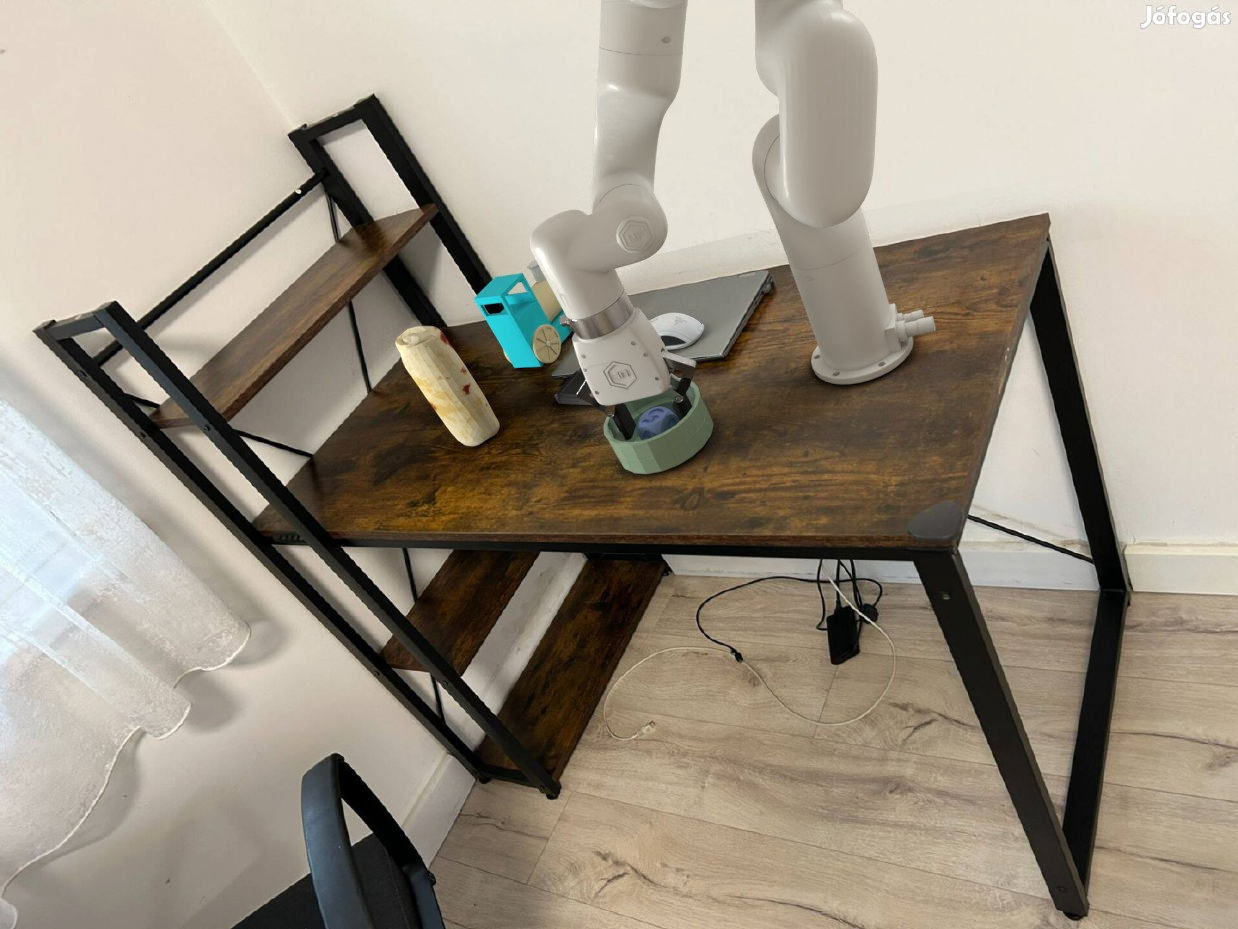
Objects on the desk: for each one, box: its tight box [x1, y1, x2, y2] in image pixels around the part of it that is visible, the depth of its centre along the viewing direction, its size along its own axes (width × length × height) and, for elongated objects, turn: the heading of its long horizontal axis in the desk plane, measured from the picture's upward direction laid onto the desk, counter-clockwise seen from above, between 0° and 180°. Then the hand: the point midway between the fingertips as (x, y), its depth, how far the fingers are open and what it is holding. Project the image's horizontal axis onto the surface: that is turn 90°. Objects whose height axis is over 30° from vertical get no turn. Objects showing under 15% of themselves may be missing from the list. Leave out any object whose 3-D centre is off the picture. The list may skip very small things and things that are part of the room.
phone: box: [554, 367, 591, 406], centre depth 131 cm, size 8×1×15 cm
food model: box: [395, 325, 500, 447], centre depth 132 cm, size 10×7×20 cm
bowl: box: [603, 377, 714, 475], centre depth 112 cm, size 13×13×6 cm
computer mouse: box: [648, 312, 705, 351], centre depth 136 cm, size 10×18×4 cm, turn 61°
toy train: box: [473, 259, 573, 369], centre depth 148 cm, size 8×17×15 cm, turn 148°
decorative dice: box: [637, 407, 679, 440], centre depth 112 cm, size 4×4×4 cm
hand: (659, 426), depth 112 cm, fingers open, 7 cm apart
